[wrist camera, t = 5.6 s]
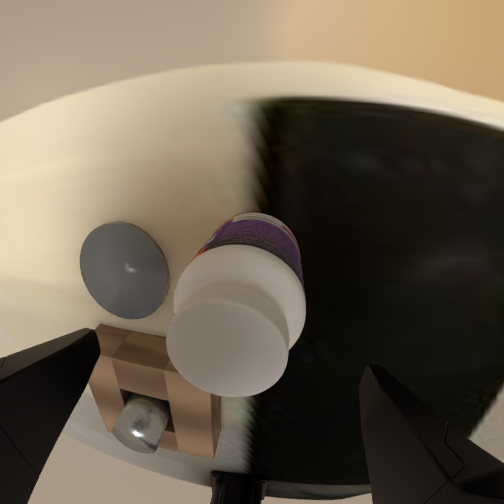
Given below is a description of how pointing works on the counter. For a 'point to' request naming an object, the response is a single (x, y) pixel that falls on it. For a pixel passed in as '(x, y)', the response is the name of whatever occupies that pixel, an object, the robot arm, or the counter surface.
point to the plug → (142, 422)
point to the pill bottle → (239, 308)
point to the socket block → (154, 390)
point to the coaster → (124, 270)
